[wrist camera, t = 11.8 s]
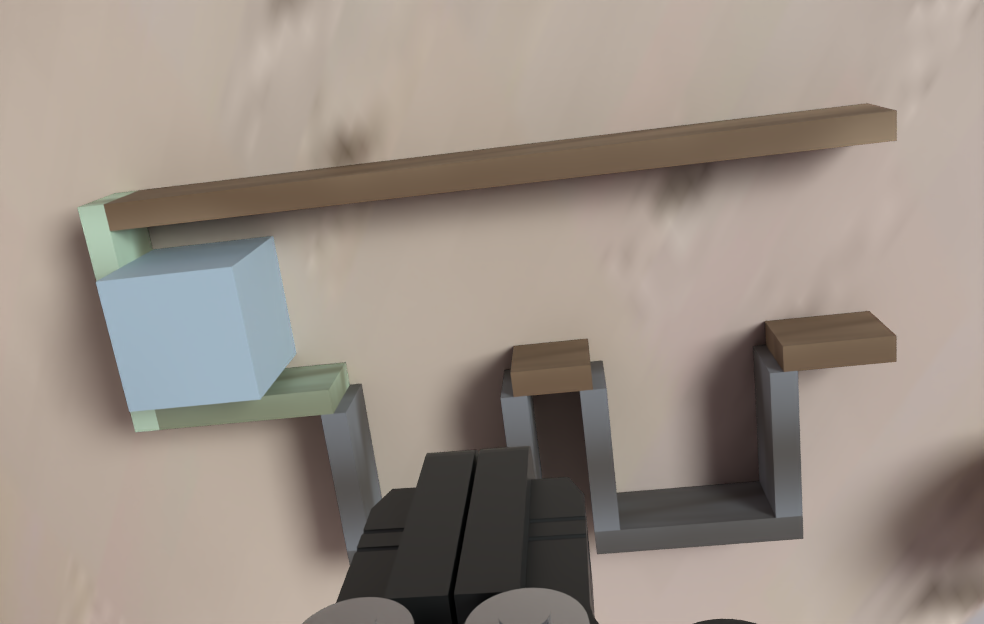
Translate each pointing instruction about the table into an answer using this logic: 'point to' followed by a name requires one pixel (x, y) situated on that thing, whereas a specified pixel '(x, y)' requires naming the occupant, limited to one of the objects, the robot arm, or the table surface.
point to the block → (198, 324)
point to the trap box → (545, 366)
